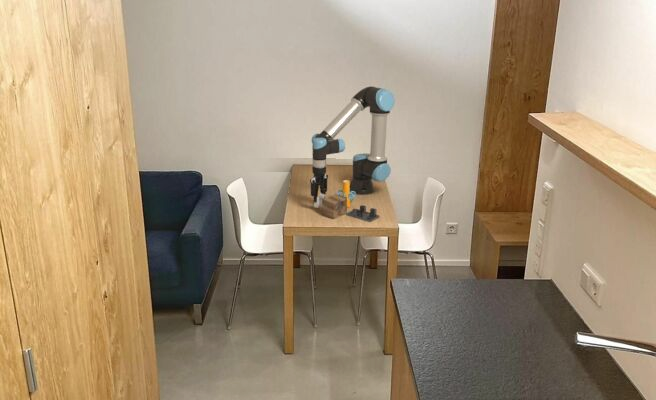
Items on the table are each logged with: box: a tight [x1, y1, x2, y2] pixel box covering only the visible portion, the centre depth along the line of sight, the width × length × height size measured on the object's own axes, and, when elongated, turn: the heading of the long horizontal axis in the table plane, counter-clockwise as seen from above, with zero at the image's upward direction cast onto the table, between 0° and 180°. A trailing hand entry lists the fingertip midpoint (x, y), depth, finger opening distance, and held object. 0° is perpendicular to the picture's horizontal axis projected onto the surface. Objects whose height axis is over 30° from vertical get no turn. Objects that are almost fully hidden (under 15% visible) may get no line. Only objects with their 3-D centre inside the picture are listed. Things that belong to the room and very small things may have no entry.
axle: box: [318, 195, 341, 211], centre depth 341 cm, size 4×15×4 cm, turn 52°
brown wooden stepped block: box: [321, 193, 348, 220], centre depth 338 cm, size 12×8×9 cm, turn 141°
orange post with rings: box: [336, 179, 357, 208], centre depth 350 cm, size 12×10×15 cm
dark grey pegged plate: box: [345, 204, 380, 223], centre depth 337 cm, size 9×16×4 cm, turn 51°
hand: (318, 205), depth 346 cm, fingers closed on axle, 4 cm apart
